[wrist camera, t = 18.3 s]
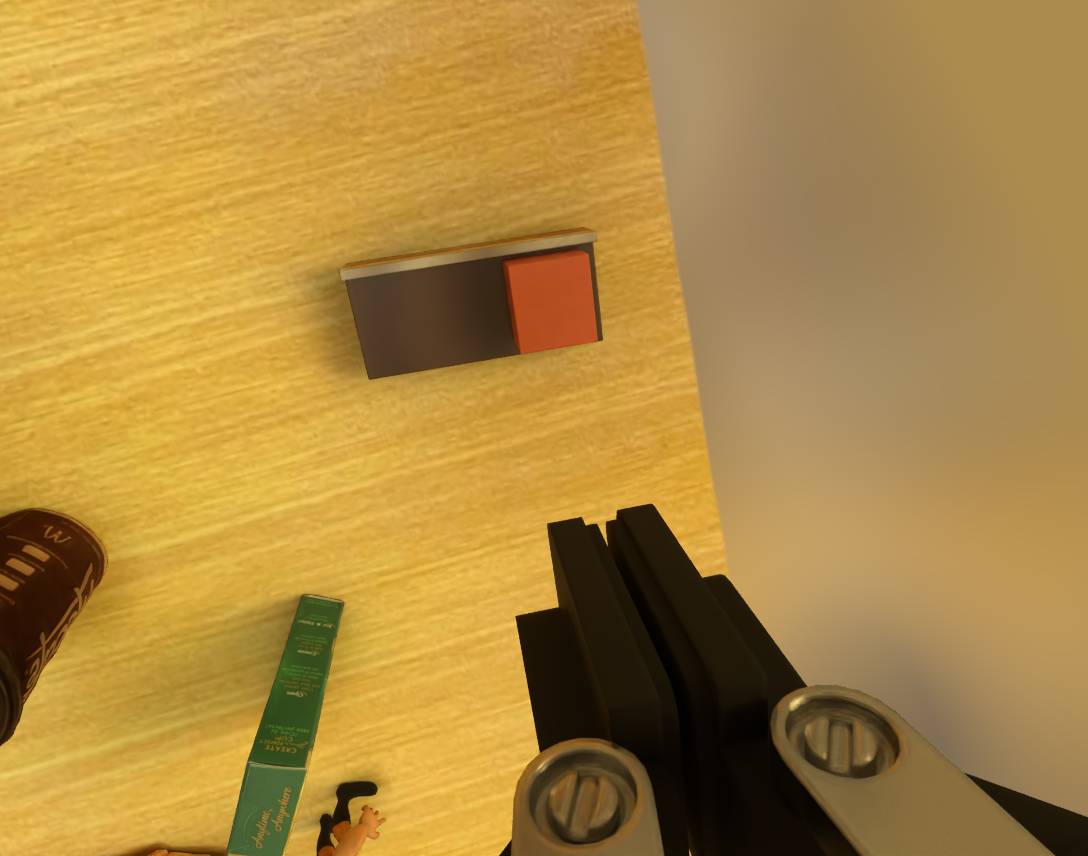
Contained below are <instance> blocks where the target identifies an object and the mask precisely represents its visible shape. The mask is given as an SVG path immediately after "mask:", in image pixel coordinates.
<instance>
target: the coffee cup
mask: <svg viewBox="0 0 1088 856" xmlns="http://www.w3.org/2000/svg"><path fill="white" fill-rule="evenodd" d="M107 564H108V557H107V555H106V551H105V548H104V546H103V544H102V543H101V541H100V540H99V539H98V538H97V537H96V536H95V535H94V534H93V533H92V532H91V531H89V530H88V529H87V528H86V527H85V526H84V525H82V524H81V523H79V522H77V521H76V520H74V519H72V518H70V517H68V516H66V515H63V514H60V513H56V512H53V511H48V510H41V509H28V510H23V511H19V512H16V513H13V514H10V515H7V516H5V517H2V518H1V519H0V746H1V745H2V744H4V743H5V742H6V741H8V740H9V739H10V738H11V737H12V735H13V734H14V730H15V729H16V726H17V724H18V723H19V721H20V717H21V714H22V710H23V705H24V703H25V702H26V700H27V698H28V697H29V695H30V694H31V692H32V690H33V689H34V687H35V686H36V683H37V681H38V678H39V675H40V673H41V672H42V670H43V669H44V667H45V666H46V664H47V663H48V662H49V660H50V659H51V658H52V657H53V656H54V654H55V653H56V651H57V649H58V648H59V645H60V643H61V641H62V639H63V637H64V636H65V634H66V632H67V629H68V627H69V626H70V625H71V623H72V622H73V621H74V619H75V618H76V617H77V616H78V614H79V613H80V612H81V611H82V609H83V608H84V606H85V604H86V603H87V601H88V599H89V598H90V596H91V594H92V592H93V590H94V589H95V588H96V587H97V586H98V584H99V583H100V582H101V580H102V578H103V576H104V573H105V570H106V567H107Z"/></svg>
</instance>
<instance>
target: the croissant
mask: <svg viewBox="0 0 1088 856" xmlns="http://www.w3.org/2000/svg"><path fill="white" fill-rule="evenodd" d="M147 856H210V855H208V854H189V853H182V852H170V853H168V851H167V850H166V849H162V850H156V851H154V852H152V853H151V854H149V855H147Z"/></svg>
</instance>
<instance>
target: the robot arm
mask: <svg viewBox="0 0 1088 856" xmlns="http://www.w3.org/2000/svg"><path fill="white" fill-rule="evenodd" d="M616 518H617V520H611V521H607V522H606V534H607V543H608V546H607V544H606V542H605V540H604V538H603V536H602V533H601V531H600V529H599V527H598V525H597V524H591V525H585V523H584V521H583V519H582V517H579V518H574V519H569V520H563V521H558V522H553V523H548V524H547V529H548V537H549V543H550V550H551V557H552V563H553V570H554V577H555V583H556V590H557V597H558V603H559V607H557V608H553V609H548V610H543V611H538V612H533V613H528V614H523V615H518V616H516V622H517V628H518V633H519V639H520V644H521V650H522V655H523V661H524V667H525V672H526V678H527V683H528V689H529V695H530V700H531V706H532V711H533V717H534V722H535V728H536V734H537V739H538V745H539V750H540V754H539V755H538V756H537V757H536V758H535V759H533V760H532V761H531V762H530V763H529V764H528V765H527V767H526V769H525V770H524V772H523V774H522V775H521V777H520V779H519V780H518V783H517V787H516V792H515V796H514V805H513V826H512V840H511V841H510V842H509V844H508V845H507V846H506V848H505V849H504V850H503V851H502V853H501V854H500V855H499V856H689V850H690V852H691V855H692V856H1088V817H1086V816H1083V815H1080V814H1077V813H1075V812H1071V811H1069V810H1066V809H1063V808H1061V807H1058V806H1055V805H1052V804H1049V803H1047V802H1044V801H1041V800H1038V799H1036V798H1033V797H1030V796H1027V795H1025V794H1022V793H1019V792H1016V791H1013V790H1011V789H1008V788H1005V787H1002V786H1000V785H997V784H994V783H991V782H988V781H985V780H983V779H980V778H977V777H975V776H972V775H969V774H966V773H963V772H962V771H961V770H960V769H959V768H958V767H957V766H956V765H954V764H953V763H952V762H951V761H950V760H949V759H948V758H946V757H945V756H944V755H943V754H942V753H941V752H940V751H939V750H938V749H937V748H935V747H934V746H933V745H932V744H931V743H930V742H929V741H928V740H927V739H926V738H925V737H923V736H922V735H921V734H920V733H919V732H918V731H917V730H916V729H915V728H914V727H912V726H911V725H910V724H909V723H908V722H907V721H906V720H905V719H904V718H902V717H901V716H900V715H899V714H898V713H897V712H896V711H894V710H893V709H892V708H890V707H889V706H887V705H886V704H884V703H883V702H882V701H880V700H879V699H877V698H875V697H872V696H870V695H868V694H866V693H863V692H861V691H859V690H855V689H850V688H846V687H841V686H837V685H836V686H835V685H834V686H833V685H815V686H810V687H807V685H806V684H805V683H804V681H803V680H802V679H801V677H800V676H799V675H798V674H797V672H796V670H794V668H793V666H792V665H791V664H790V662H789V661H788V660H787V658H786V657H785V655H784V654H783V653H782V652H781V650H780V649H779V647H778V646H777V645H776V643H775V642H774V640H773V639H772V638H771V636H770V635H769V634H768V632H767V631H766V629H765V628H764V627H763V625H762V624H761V623H760V621H759V620H758V619H757V617H756V616H755V614H754V613H753V612H752V611H751V609H750V608H749V607H748V605H747V604H746V602H745V601H744V599H743V598H742V597H741V595H740V594H739V593H738V591H737V590H736V589H735V587H734V586H733V584H732V583H731V582H730V581H729V579H728V578H727V577H726V576H725V575H721V574H719V575H714V576H709V577H704V578H702V577H701V575H700V574H699V572H698V571H697V569H696V568H695V566H694V565H693V563H692V562H691V560H690V559H689V557H688V556H687V554H686V553H685V551H684V550H683V548H682V547H681V545H680V544H679V542H678V541H677V539H676V538H675V536H674V535H673V533H672V532H671V530H670V529H669V527H668V526H667V524H666V523H665V521H664V520H663V518H662V517H661V515H660V514H659V512H658V511H657V509H656V508H655V506H654V505H653V504H646V505H641V506H636V507H631V508H626V509H620V510H617V516H616Z"/></svg>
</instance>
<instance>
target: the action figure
mask: <svg viewBox="0 0 1088 856" xmlns="http://www.w3.org/2000/svg"><path fill="white" fill-rule="evenodd" d="M377 789H378V788H377V786H376V785H375V784H374V783H371V782H358V783H351V784H343V785H340V786H339V787H338V789H337V791H336V795H337V798H338V803H337V806H336V808H335V811H334V815H333V818H332V817H331V816H330V815H328V814H325V815H322V817H321V819H320V825H321V832H320V835H319V838H318V842H317V856H357V854H358V851H359V850H360V848H361V847H362V845H363V843H364V842H365V839H366V837H369V838H371V839H377V838H378V837H379V836H380V833H379V832H375V829H376V828H377V827H378V826H379V825H381V824H382V823H384V822H385V821H386V818H382V819H380V820H378V821H377V816H378V815H379V812H378V811H375V813H373V809H372V808H369V806H368V805H364V806H363V807H362V811H364V812H363V813H362V815H361V817H360V819H359V824H358V825H356V826H354V827H352V828H351V826H350V824H351V820H350V814H349V809H348V803H349V801H350V800H351V799H353V798H355V797H358V796H372V795H375V794H376V792H377ZM331 833H333V834H334V837H335V838H336V840H337V841H338V842H339V843H338V845H337V847H336V849H335V847H334V845H333V844H332V842H331V839H330V834H331Z"/></svg>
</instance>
